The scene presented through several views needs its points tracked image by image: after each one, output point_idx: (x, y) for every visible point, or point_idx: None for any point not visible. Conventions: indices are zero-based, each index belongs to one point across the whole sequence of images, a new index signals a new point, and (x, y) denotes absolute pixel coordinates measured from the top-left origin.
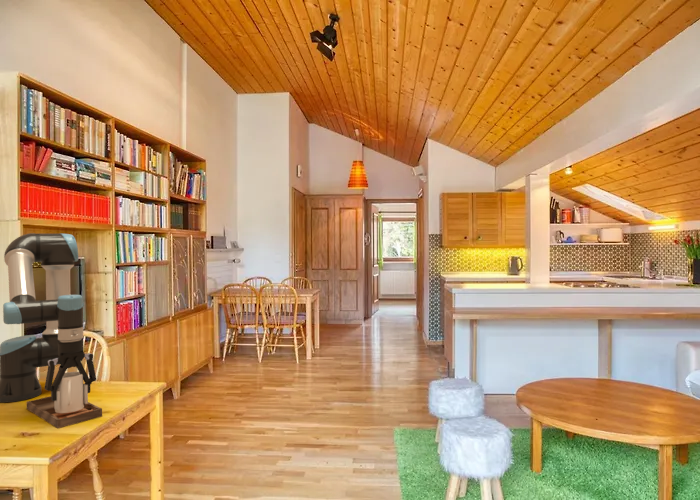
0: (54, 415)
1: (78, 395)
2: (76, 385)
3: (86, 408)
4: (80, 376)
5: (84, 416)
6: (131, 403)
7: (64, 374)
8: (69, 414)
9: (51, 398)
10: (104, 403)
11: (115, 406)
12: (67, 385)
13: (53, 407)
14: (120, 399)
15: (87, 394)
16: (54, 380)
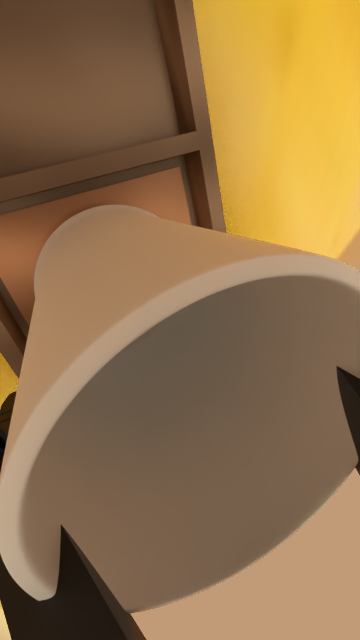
0: (30, 265)
1: (196, 379)
2: (223, 447)
3: (197, 222)
4: (313, 482)
5: None
6: (346, 241)
7: (174, 300)
8: None
9: (4, 413)
10: (282, 147)
11: (297, 244)
12: (158, 492)
13: (6, 187)
14: (349, 129)
15: None
16: (2, 579)
